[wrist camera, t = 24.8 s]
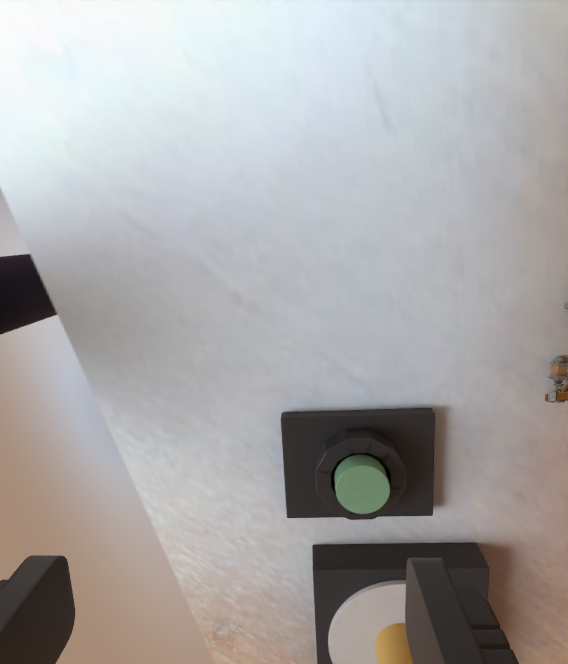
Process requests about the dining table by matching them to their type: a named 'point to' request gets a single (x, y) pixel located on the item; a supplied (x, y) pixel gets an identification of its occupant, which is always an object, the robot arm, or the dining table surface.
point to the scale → (375, 592)
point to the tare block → (353, 439)
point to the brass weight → (393, 646)
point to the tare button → (361, 484)
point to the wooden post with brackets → (558, 379)
